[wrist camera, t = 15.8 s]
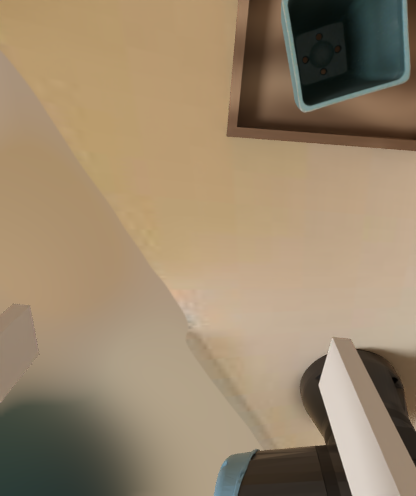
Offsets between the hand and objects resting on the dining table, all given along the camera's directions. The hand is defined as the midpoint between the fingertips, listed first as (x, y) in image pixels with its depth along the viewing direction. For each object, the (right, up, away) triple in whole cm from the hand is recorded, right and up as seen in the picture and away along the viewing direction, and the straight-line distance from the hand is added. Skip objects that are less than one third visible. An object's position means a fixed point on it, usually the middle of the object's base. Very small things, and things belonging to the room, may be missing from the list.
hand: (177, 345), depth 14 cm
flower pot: (+13, +24, +19) cm, 33 cm away
